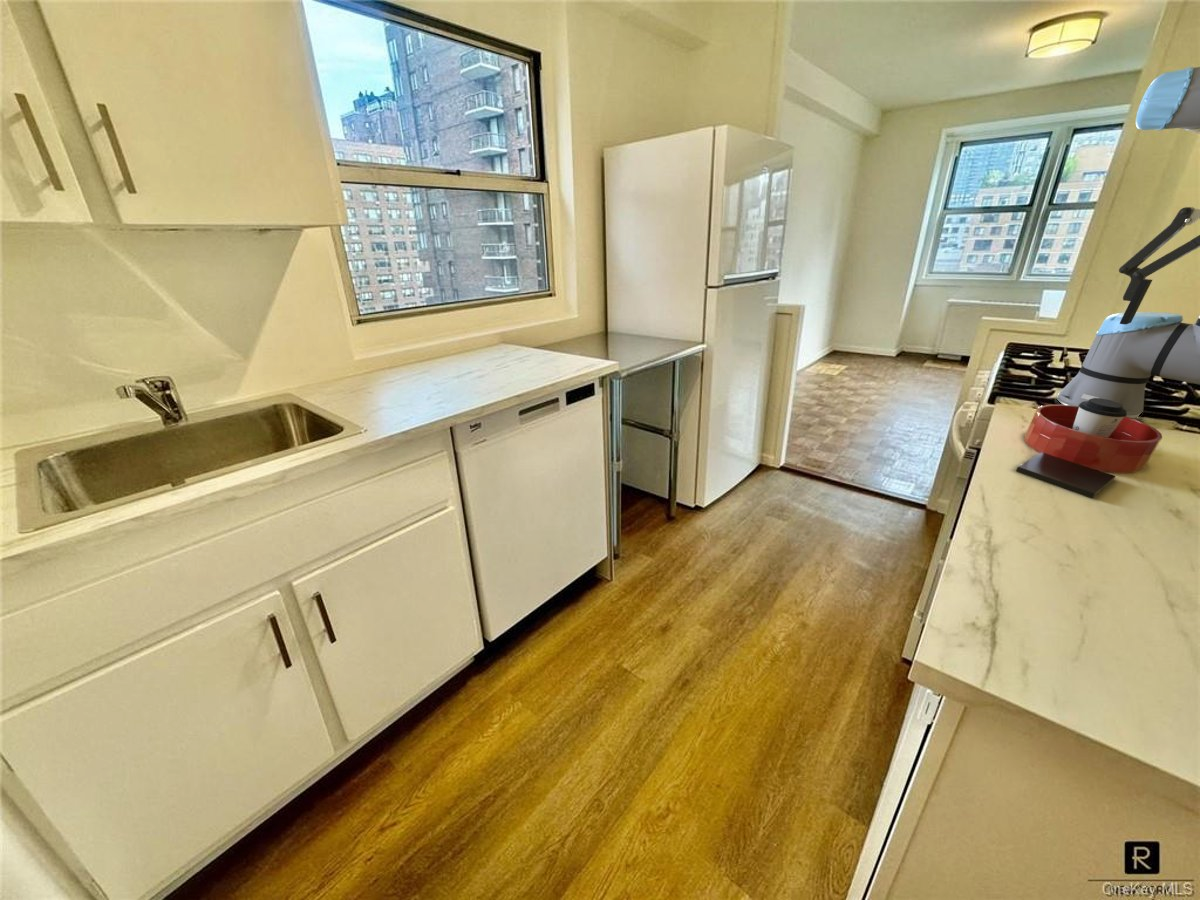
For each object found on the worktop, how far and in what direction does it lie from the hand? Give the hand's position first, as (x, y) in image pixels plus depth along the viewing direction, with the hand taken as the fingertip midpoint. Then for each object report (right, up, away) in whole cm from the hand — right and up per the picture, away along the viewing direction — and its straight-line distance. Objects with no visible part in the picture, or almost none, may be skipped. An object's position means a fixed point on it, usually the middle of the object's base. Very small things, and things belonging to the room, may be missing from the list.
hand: (1187, 332), depth 71 cm
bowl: (+11, -18, +27) cm, 34 cm away
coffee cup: (+11, -17, +27) cm, 34 cm away
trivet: (-1, -22, +18) cm, 28 cm away
